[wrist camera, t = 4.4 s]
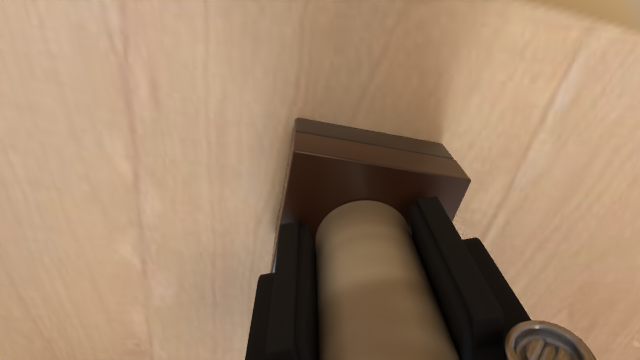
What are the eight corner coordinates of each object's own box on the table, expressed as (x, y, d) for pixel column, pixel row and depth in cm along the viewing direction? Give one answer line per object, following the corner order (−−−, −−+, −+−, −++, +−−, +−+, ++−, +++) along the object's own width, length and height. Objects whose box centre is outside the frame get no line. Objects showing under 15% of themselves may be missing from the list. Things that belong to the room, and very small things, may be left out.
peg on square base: (443, 143, 12) (649, 405, 5) (398, 255, 15) (489, 544, 7) (295, 116, 12) (273, 368, 4) (274, 238, 14) (236, 534, 7)
